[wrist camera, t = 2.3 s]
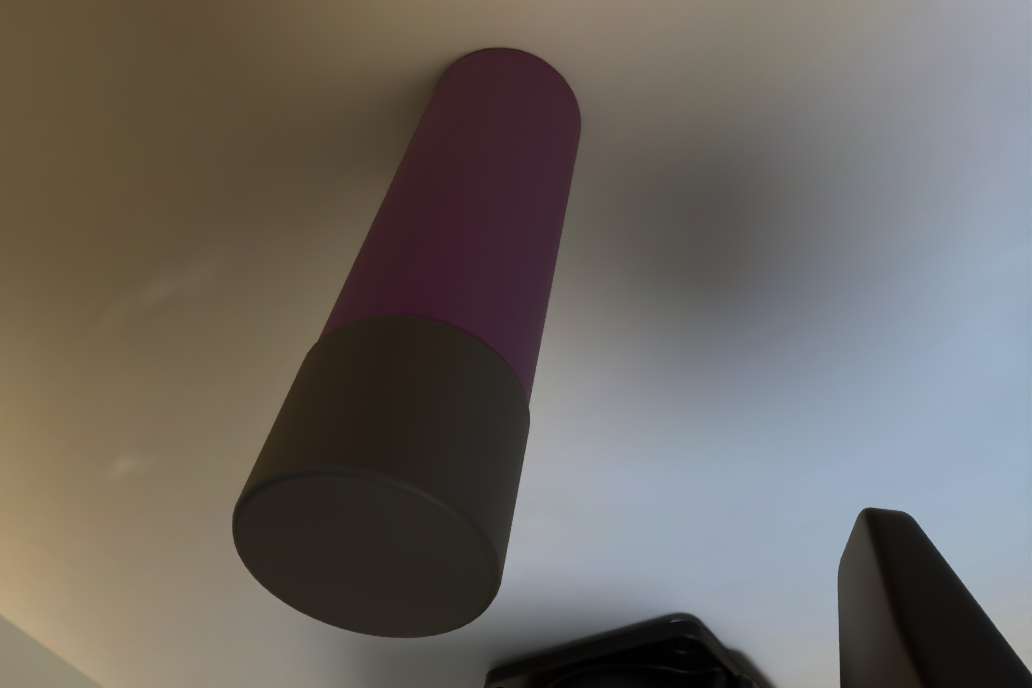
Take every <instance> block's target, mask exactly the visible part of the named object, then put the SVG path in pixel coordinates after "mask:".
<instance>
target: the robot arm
mask: <svg viewBox="0 0 1032 688" xmlns="http://www.w3.org/2000/svg"><path fill="white" fill-rule="evenodd" d="M838 614H839V652H840V688H1032V674H1031V673H1030V671H1029V670H1028V669H1027V667H1026V666H1025V665H1024V663H1023V662H1022V661H1021V659H1020V658H1019V657H1018V655H1017V654H1016V653H1015V651H1014V650H1013V649H1012V647H1011V646H1010V645H1009V644H1008V642H1007V641H1006V640H1005V638H1004V637H1003V636H1002V634H1001V633H1000V632H999V630H998V629H997V628H996V626H995V625H994V624H993V622H992V621H991V620H990V618H989V617H988V616H987V614H986V613H985V612H984V611H983V609H982V608H981V607H980V605H979V604H978V603H977V601H976V600H975V599H974V597H973V596H972V595H971V593H970V592H969V591H968V589H967V588H966V587H965V585H964V584H963V583H962V581H961V580H960V579H959V578H958V576H957V575H956V574H955V572H954V571H953V570H952V568H951V567H950V566H949V564H948V563H947V562H946V560H945V559H944V558H943V556H942V555H941V554H940V552H939V551H938V550H937V549H936V547H935V546H934V545H933V543H932V542H931V541H930V539H929V538H928V537H927V535H926V534H925V533H924V531H923V530H922V529H921V527H920V526H919V525H918V523H917V522H916V521H915V520H914V518H913V517H911V516H910V515H909V514H907V513H905V512H902V511H896V510H887V509H879V508H871V507H870V508H865V509H863V510H862V511H861V512H860V514H859V515H858V517H857V520H856V522H855V525H854V527H853V530H852V532H851V535H850V537H849V540H848V542H847V545H846V547H845V550H844V552H843V555H842V557H841V560H840V565H839V571H838ZM484 688H760V687H759V686H758V685H757V684H756V683H755V682H754V681H753V680H752V679H751V678H749V677H748V676H747V675H746V674H745V673H744V671H743V670H742V669H741V668H740V667H739V666H738V665H737V664H736V663H735V662H734V661H733V660H732V659H731V657H730V656H729V655H728V654H727V653H726V652H725V651H724V650H723V649H722V648H721V647H720V646H719V645H718V643H717V642H716V641H715V640H714V639H713V638H712V637H711V636H710V635H709V634H708V633H707V632H706V631H705V629H704V628H702V627H701V626H700V625H698V624H696V623H693V622H690V621H676V622H671V623H668V624H664V625H660V626H656V627H652V628H648V629H645V630H641V631H637V632H633V633H629V634H625V635H622V636H618V637H614V638H610V639H606V640H602V641H599V642H595V643H591V644H587V645H583V646H580V647H576V648H572V649H568V650H564V651H560V652H557V653H553V654H549V655H545V656H541V657H537V658H534V659H530V660H526V661H522V662H518V663H514V664H511V665H507V666H503V667H499V668H495V669H492V670H490V671H488V673H487V674H486V679H485V685H484Z"/></svg>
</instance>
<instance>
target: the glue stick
mask: <svg viewBox="0 0 1032 688" xmlns="http://www.w3.org/2000/svg"><path fill="white" fill-rule="evenodd" d="M580 131H581V118H580V111H579V107H578V104H577V101H576V98H575V96H574V94H573V92H572V90H571V89H570V87H569V85H568V84H567V83H566V81H565V80H564V79H563V78H562V76H561V75H560V74H559V73H557V72H556V71H555V70H554V69H553V68H552V67H551V66H549V65H548V64H547V63H545V62H543V61H542V60H540V59H538V58H536V57H534V56H532V55H529V54H527V53H523V52H520V51H515V50H509V49H491V50H484V51H480V52H476V53H473V54H471V55H468V56H466V57H464V58H462V59H461V60H459V61H457V62H456V63H455V64H453V65H452V66H451V67H450V68H449V69H448V70H447V71H446V72H445V73H444V74H443V76H442V77H441V78H440V80H439V81H438V83H437V85H436V87H435V89H434V91H433V94H432V96H431V98H430V100H429V102H428V104H427V107H426V109H425V111H424V113H423V115H422V117H421V120H420V122H419V124H418V126H417V128H416V130H415V132H414V135H413V137H412V139H411V141H410V143H409V145H408V148H407V150H406V152H405V154H404V156H403V158H402V161H401V163H400V165H399V167H398V169H397V171H396V173H395V176H394V178H393V180H392V182H391V184H390V186H389V189H388V191H387V193H386V195H385V197H384V199H383V202H382V204H381V206H380V208H379V210H378V212H377V215H376V217H375V219H374V221H373V223H372V225H371V227H370V230H369V232H368V234H367V236H366V238H365V240H364V243H363V245H362V247H361V249H360V251H359V253H358V256H357V258H356V260H355V262H354V264H353V266H352V268H351V271H350V273H349V275H348V277H347V279H346V281H345V284H344V286H343V288H342V290H341V292H340V294H339V297H338V299H337V301H336V303H335V305H334V307H333V310H332V312H331V314H330V316H329V318H328V320H327V322H326V325H325V327H324V329H323V331H322V333H321V335H320V338H319V340H318V341H317V342H316V343H315V344H314V345H313V347H312V348H311V349H310V351H309V352H308V353H307V355H306V357H305V359H304V361H303V363H302V365H301V367H300V369H299V371H298V373H297V375H296V378H295V380H294V382H293V384H292V386H291V388H290V390H289V392H288V395H287V397H286V399H285V401H284V403H283V405H282V407H281V409H280V412H279V414H278V416H277V418H276V420H275V422H274V424H273V427H272V429H271V431H270V433H269V435H268V437H267V439H266V441H265V444H264V446H263V448H262V450H261V452H260V454H259V456H258V458H257V461H256V463H255V465H254V467H253V469H252V471H251V473H250V476H249V478H248V480H247V482H246V484H245V486H244V488H243V490H242V493H241V495H240V497H239V499H238V501H237V503H236V505H235V509H234V513H233V520H232V532H233V538H234V544H235V547H236V549H237V552H238V554H239V556H240V558H241V560H242V562H243V563H244V565H245V566H246V568H247V569H248V570H249V572H250V573H251V574H252V576H253V577H254V578H255V579H256V580H257V581H258V582H259V583H260V584H261V585H262V586H263V587H264V588H266V589H267V590H268V591H269V592H270V593H272V594H273V595H274V596H276V597H277V598H278V599H280V600H281V601H283V602H284V603H286V604H287V605H289V606H291V607H292V608H294V609H296V610H297V611H299V612H301V613H303V614H305V615H307V616H310V617H312V618H314V619H316V620H319V621H321V622H324V623H326V624H329V625H332V626H335V627H338V628H341V629H345V630H349V631H353V632H356V633H361V634H367V635H372V636H380V637H390V638H417V637H426V636H434V635H438V634H443V633H447V632H450V631H453V630H455V629H458V628H461V627H463V626H465V625H467V624H469V623H471V622H472V621H473V620H475V619H476V618H478V617H479V616H480V615H481V614H482V613H483V612H484V611H485V610H486V609H487V608H488V607H489V605H490V604H491V603H492V601H493V600H494V598H495V597H496V595H497V593H498V590H499V588H500V585H501V580H502V575H503V569H504V564H505V558H506V553H507V547H508V542H509V536H510V531H511V526H512V520H513V515H514V509H515V504H516V498H517V493H518V487H519V482H520V477H521V471H522V466H523V460H524V455H525V449H526V444H527V438H528V433H529V426H530V412H529V402H530V397H531V392H532V387H533V381H534V376H535V371H536V365H537V360H538V355H539V350H540V344H541V339H542V334H543V328H544V323H545V318H546V312H547V307H548V302H549V297H550V291H551V286H552V281H553V275H554V270H555V265H556V260H557V254H558V249H559V244H560V238H561V233H562V228H563V223H564V217H565V212H566V207H567V201H568V196H569V191H570V186H571V180H572V175H573V170H574V164H575V159H576V154H577V148H578V143H579V138H580Z"/></svg>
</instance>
